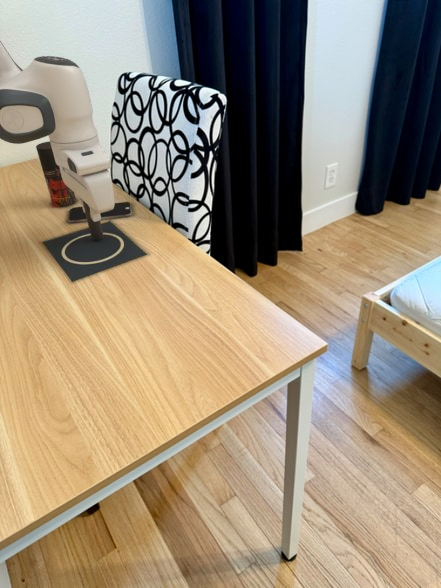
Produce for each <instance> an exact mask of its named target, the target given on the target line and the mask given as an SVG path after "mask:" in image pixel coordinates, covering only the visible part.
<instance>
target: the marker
mask: <svg viewBox="0 0 441 588" xmlns="http://www.w3.org/2000/svg"><path fill="white" fill-rule="evenodd" d="M82 201H83V200H82ZM83 205H84V209H85V213H86V217H87V221H88V222H87V226H88V228H89V230H90V234H91V238H92V239H93V240H99V239H102V238H103V231H102V227H101V224H102V223H101V220H99V221H96V222H94V221H93V220H92V219H91V218H90V214H89V212H90V207H89V206H88V204H87V203H85V202H84V201H83Z"/></svg>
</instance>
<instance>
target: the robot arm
mask: <svg viewBox="0 0 441 588" xmlns="http://www.w3.org/2000/svg"><path fill="white" fill-rule="evenodd" d="M46 137H48V139H49V141H50V143H51V147H52V150H53V154H54V158H55V162H56V164H57V165H58V166H59V167H60V172H61V176H62V179H63V182H64V183H65V185H66V186H68V187H69V188H70V189H71V190H72V191H73V192H74V194H75V195H76V197H77V198H78V200H79V203H80V205H81V207H82V208H83V211H84V213H85V209H84V205H83V201H84V202H85V203H87V204H88V206H89V207H90V212H89V214H90V218H91V219H92V220H93V221H94V222H96V221H99V220H100V221H102V220H101V215H100V213H103V212H107V211H110V210H112V209H113V208H114V205H115V203H116V201H115V194H114V193H115V192H114V186H113V179H112V176H111V172H110V170H109V169H111V168H112V163H111V159H110V157H109V155H108V154H107V152H105V150H104V148H103V147H102V144H101V142H100V139H99V135H98V130H97V128H96V126H95V124H94V121H93V104H92V99H91V96H90V91H89V87H88V84H87V80H86V77H85V76H84V72H83V70H82V69H81V67H80V66H79V65H78V64H77V63H76V62H74V61H73V60H72V59H68V58H65V57H62V56H61V57H60V56H51V55H42V56H41V55H40V56H37V57H35V58H33V60H32V61H31V62H30V63H29V65H27V67H25V68H24V69H23V68H21V67H20V66H19V65H18V63H16V61H15V60H14V59H13V58H12V56H11V55H10V53H9V51H8V50H7V49H6V47H5V46H4V44H3V42H2V41H1V40H0V140H1V141H3V142H6V143H9V144H14V145H21V144H26V143H29V142H34V141H36V140H40V139H42V138H46ZM82 200H83V201H82ZM85 214H86V213H85Z"/></svg>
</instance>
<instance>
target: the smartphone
mask: <svg viewBox="0 0 441 588" xmlns="http://www.w3.org/2000/svg"><path fill="white" fill-rule="evenodd" d="M100 215H101V220H100V221H104V220H105V221H107V220H115V219H124V218H129V217H130V218H131V216H132V215H133V211H132V203H131V202H129V201H123V202H115V205H114V208H113V209H112V210H110V211H107V212H103V213H100ZM67 221H68V223H70V224H77V223H86V222H87V223H88V221H87V217H86V214H85V213H84V211H83V208H82V206H76V207H71V208H70V210H69V212H68V217H67Z"/></svg>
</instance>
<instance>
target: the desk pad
mask: <svg viewBox="0 0 441 588" xmlns="http://www.w3.org/2000/svg"><path fill="white" fill-rule="evenodd" d="M101 227H102V231H103V238H102V239H99V240H93V239H92V238H91V234H90V230H89V227H87V228H83V229H80V230H77V231H73V232H70V233H67V234H64V235H60V236H58V237H54V238H51V239H48V240H45V241H42V244H43V245H44V247H45V248H46V249H47V250H48V252H49V253H50V255H51V256H52V257H53V258H54V259H55V262H56V263H57V264H59V266H60V267H61V269H62V270H63V271H64V272H65V274H66V275H67V277H68V278H69V280H70V281H71V282H73V283H74V282H76V281H79V280H81V279H82V280H83V279H84V278H87V277H90V276H93V275H96V274H98V273H100V272H101V273H102V272H103V271H107V270H109V269H111V268H114V267H118V266H120V265H123V264H125V263H128V262H130V261H134V260H136V259H139V258H142V257H144V256H147V255H148V253H146V251H144V250H143V249H142V248H141V247H140V246H139V245H138V244H136V243H135V242H134V241H133V240H132V239H131V238H130V237H128V236H127V234H125V233H124V232H123V231H122V230H121V229H119V228H118V227H117V226H116V225H115V224H114V223H113V222H112V221H110V220H109V221H106V222H103V223H101Z"/></svg>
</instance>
